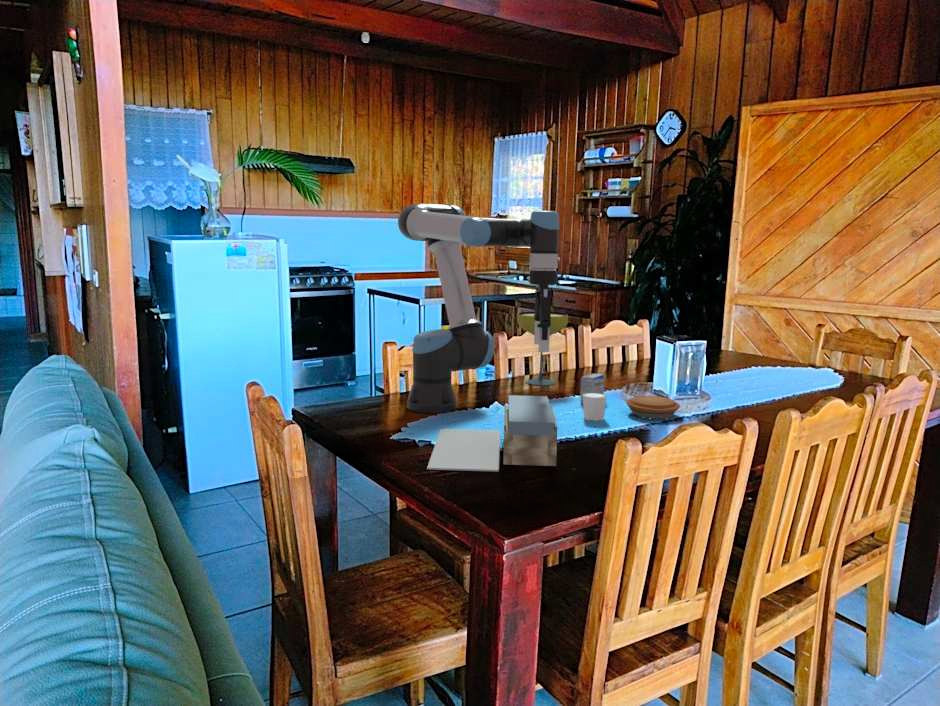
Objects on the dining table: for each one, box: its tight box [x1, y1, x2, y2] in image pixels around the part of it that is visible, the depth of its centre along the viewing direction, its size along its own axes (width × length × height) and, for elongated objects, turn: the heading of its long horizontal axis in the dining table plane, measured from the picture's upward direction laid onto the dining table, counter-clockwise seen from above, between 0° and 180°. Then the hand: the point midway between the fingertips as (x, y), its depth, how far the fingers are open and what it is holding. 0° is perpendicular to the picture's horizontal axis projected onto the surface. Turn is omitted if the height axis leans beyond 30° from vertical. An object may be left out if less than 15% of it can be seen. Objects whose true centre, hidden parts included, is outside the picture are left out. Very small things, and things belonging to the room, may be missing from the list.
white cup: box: [582, 393, 608, 422], centre depth 198 cm, size 7×7×7 cm
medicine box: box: [579, 373, 605, 404], centre depth 219 cm, size 8×4×9 cm, turn 143°
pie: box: [625, 395, 681, 420], centre depth 203 cm, size 15×16×5 cm
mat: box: [426, 428, 501, 473], centre depth 168 cm, size 16×32×1 cm, turn 177°
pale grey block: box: [507, 394, 554, 436], centre depth 165 cm, size 10×26×3 cm, turn 177°
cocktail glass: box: [516, 311, 569, 387], centre depth 246 cm, size 18×18×25 cm
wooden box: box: [502, 404, 558, 467], centre depth 166 cm, size 12×20×9 cm, turn 177°
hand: (541, 348), depth 187 cm, fingers open, 13 cm apart
